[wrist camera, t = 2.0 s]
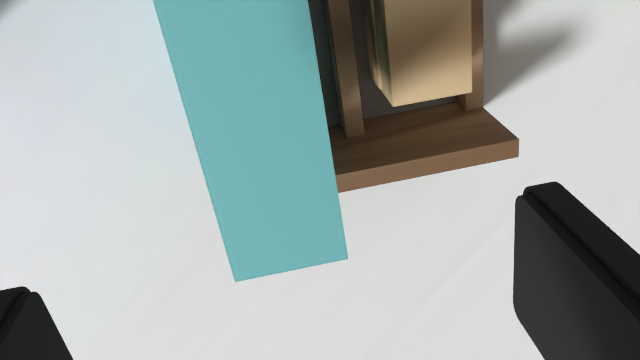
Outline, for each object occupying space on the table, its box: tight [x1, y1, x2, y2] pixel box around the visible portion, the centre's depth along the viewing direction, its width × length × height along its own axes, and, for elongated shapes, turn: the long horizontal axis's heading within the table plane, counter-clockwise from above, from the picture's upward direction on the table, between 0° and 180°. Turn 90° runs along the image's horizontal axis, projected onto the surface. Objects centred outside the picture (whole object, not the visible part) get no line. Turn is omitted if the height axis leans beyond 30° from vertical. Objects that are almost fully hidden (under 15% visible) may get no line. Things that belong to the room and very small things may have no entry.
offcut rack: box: [324, 0, 519, 193], centre depth 26 cm, size 14×15×6 cm
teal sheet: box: [153, 0, 348, 282], centre depth 22 cm, size 10×4×14 cm, turn 8°
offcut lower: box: [363, 0, 381, 89], centre depth 28 cm, size 7×4×2 cm, turn 8°
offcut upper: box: [373, 0, 472, 107], centre depth 26 cm, size 7×4×2 cm, turn 8°
